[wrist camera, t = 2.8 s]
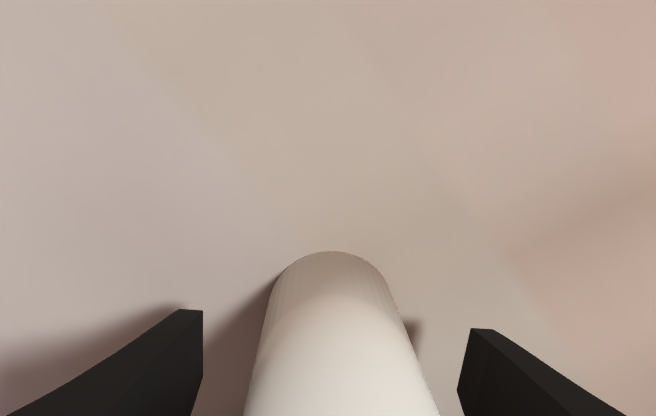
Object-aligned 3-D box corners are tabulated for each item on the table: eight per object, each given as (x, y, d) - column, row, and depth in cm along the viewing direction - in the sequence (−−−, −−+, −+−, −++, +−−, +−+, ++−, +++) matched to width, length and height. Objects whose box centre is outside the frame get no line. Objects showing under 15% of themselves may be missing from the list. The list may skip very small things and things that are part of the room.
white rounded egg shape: (265, 357, 12) (207, 661, 6) (271, 246, 11) (208, 459, 5) (383, 364, 13) (461, 663, 6) (400, 256, 12) (521, 471, 5)
